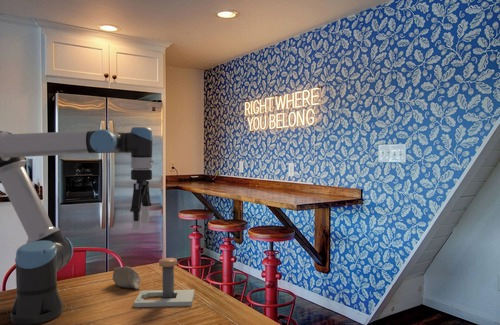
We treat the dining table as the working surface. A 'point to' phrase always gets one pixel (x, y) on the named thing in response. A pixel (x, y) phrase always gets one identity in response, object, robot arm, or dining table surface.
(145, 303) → the keyhole board
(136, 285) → the decorative stone
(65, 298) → the dining table surface
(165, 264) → the peg
